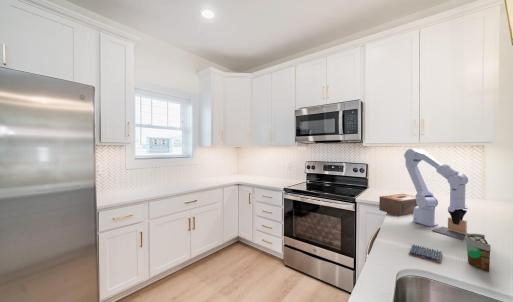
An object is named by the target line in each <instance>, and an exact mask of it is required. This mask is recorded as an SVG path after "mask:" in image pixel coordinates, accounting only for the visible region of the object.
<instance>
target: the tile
mask: <svg viewBox="0 0 513 302" xmlns="http://www.w3.org/2000/svg"><path fill="white" fill-rule="evenodd" d="M447 228H448V229H450V230H454V231H457V232H461V233H465V234H466V233H468V232H467V231H468V220H464V219H462V220H460V222H459V225H457V224H453V222H452V218H451V216H450V217H447Z"/></svg>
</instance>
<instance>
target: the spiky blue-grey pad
mask: <svg viewBox="0 0 513 302" xmlns="http://www.w3.org/2000/svg"><path fill="white" fill-rule="evenodd" d="M408 255H410V256H412V257H416V258H419V259H423V260H427V261H430V262H434V263H438V264H442V260H443V252H442V251H441V250H438V249H437V250H436V249H434V248H432V249H431V248H429V247H426V246H422V245H417V244H415V243H413V244H412V245H411V248H410V250H409V252H408Z"/></svg>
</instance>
